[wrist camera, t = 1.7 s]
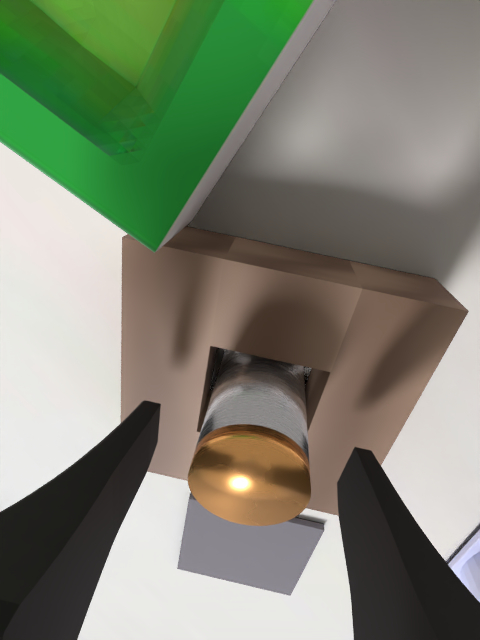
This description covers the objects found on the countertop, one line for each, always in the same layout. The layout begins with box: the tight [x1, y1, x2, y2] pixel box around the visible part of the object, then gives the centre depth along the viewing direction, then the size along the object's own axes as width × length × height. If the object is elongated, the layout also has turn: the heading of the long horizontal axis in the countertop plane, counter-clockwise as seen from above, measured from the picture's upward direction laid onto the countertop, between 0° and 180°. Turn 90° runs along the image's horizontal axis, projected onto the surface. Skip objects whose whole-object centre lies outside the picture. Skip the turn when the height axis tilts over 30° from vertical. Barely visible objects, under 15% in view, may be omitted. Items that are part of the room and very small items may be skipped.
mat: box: [177, 493, 324, 595], centre depth 25 cm, size 9×9×1 cm
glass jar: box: [188, 349, 311, 526], centre depth 14 cm, size 4×4×7 cm
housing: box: [121, 226, 468, 516], centre depth 16 cm, size 12×12×3 cm
